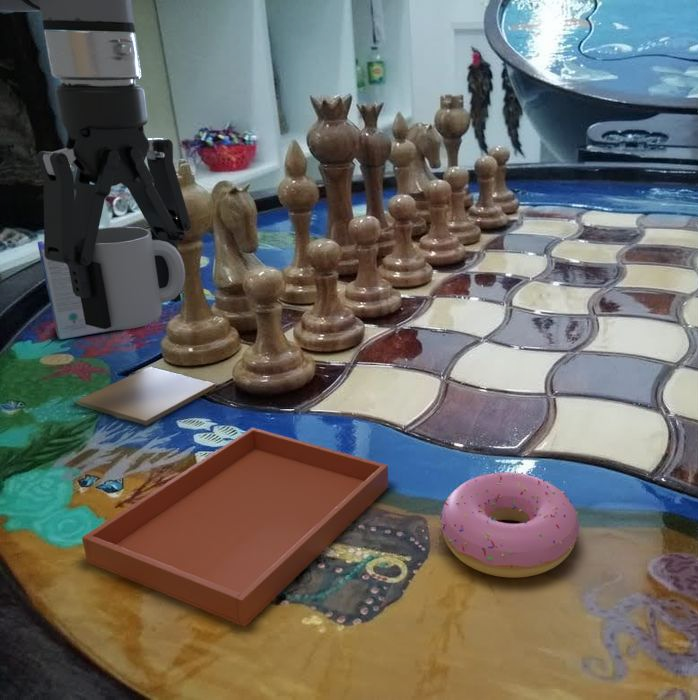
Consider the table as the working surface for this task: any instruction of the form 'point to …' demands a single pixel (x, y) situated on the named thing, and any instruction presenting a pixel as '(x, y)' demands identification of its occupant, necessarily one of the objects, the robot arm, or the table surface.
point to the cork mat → (146, 395)
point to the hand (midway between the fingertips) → (135, 311)
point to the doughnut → (509, 539)
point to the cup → (135, 275)
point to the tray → (238, 523)
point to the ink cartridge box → (64, 300)
